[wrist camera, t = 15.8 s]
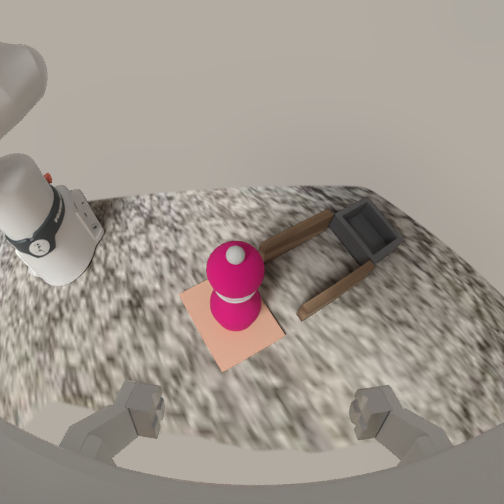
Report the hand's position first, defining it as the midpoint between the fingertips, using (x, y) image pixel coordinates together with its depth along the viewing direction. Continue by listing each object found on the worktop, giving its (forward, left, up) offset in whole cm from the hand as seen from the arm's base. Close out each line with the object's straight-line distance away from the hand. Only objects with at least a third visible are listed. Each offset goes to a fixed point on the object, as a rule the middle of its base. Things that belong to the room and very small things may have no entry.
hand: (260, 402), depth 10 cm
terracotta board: (-11, +5, -31) cm, 34 cm away
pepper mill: (-12, +6, -31) cm, 34 cm away
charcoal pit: (-11, +33, -31) cm, 47 cm away
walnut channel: (-11, +21, -31) cm, 39 cm away
